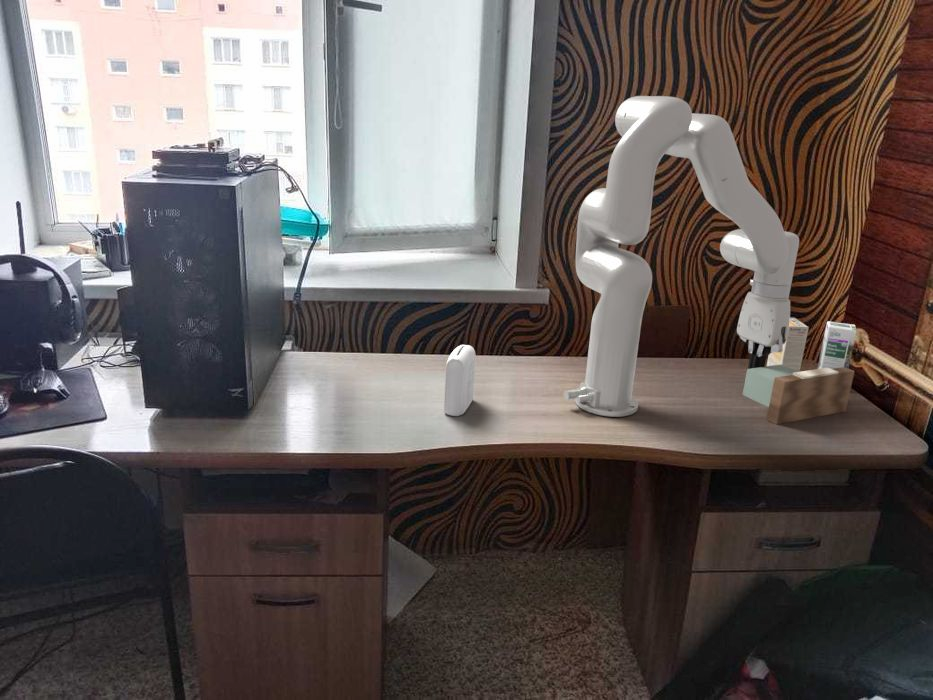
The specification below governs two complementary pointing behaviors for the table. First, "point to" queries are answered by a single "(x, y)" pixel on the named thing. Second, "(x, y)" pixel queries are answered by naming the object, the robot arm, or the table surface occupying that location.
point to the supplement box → (791, 347)
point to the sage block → (763, 382)
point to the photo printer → (459, 380)
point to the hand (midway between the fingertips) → (755, 371)
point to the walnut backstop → (809, 394)
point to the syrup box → (837, 345)
